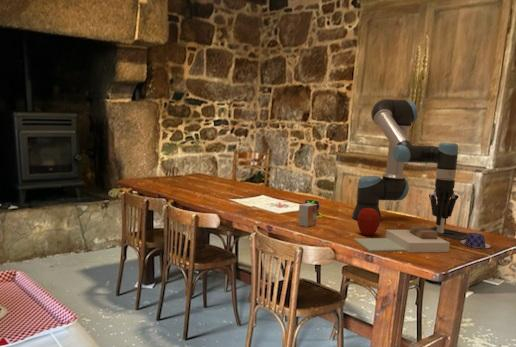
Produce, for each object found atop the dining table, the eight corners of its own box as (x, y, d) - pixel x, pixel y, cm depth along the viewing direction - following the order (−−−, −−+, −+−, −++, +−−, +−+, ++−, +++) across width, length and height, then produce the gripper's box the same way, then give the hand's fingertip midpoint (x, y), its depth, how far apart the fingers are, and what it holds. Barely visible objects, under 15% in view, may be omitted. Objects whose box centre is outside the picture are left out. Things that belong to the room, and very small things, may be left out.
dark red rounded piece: (375, 239, 180) (378, 208, 178) (353, 235, 184) (355, 205, 183) (380, 234, 189) (383, 205, 187) (359, 230, 193) (361, 202, 192)
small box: (307, 227, 195) (308, 206, 194) (297, 225, 199) (298, 204, 198) (316, 224, 201) (317, 204, 200) (307, 222, 205) (308, 202, 204)
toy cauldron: (293, 212, 228) (294, 193, 227) (317, 211, 233) (318, 192, 231) (304, 218, 214) (305, 198, 213) (329, 217, 219) (330, 197, 217)
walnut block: (409, 232, 178) (409, 226, 177) (423, 232, 179) (424, 226, 178) (421, 239, 168) (422, 232, 167) (437, 239, 169) (437, 232, 169)
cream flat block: (385, 238, 182) (386, 229, 181) (421, 237, 185) (422, 229, 184) (408, 252, 162) (409, 243, 162) (448, 251, 165) (449, 242, 164)
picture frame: (422, 233, 195) (461, 242, 182) (423, 229, 195) (461, 237, 182) (434, 229, 204) (472, 237, 191) (434, 225, 204) (472, 233, 191)
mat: (353, 239, 177) (354, 238, 177) (387, 239, 180) (387, 238, 180) (369, 251, 161) (369, 250, 161) (406, 251, 164) (406, 249, 164)
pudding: (480, 251, 169) (481, 239, 168) (454, 243, 179) (455, 232, 178) (496, 247, 175) (497, 236, 174) (470, 240, 185) (471, 229, 184)
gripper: (436, 179, 167) (431, 234, 170) (464, 180, 169) (459, 234, 172) (426, 177, 174) (421, 230, 177) (453, 177, 176) (448, 229, 179)
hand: (440, 232), depth 174 cm, fingers closed
